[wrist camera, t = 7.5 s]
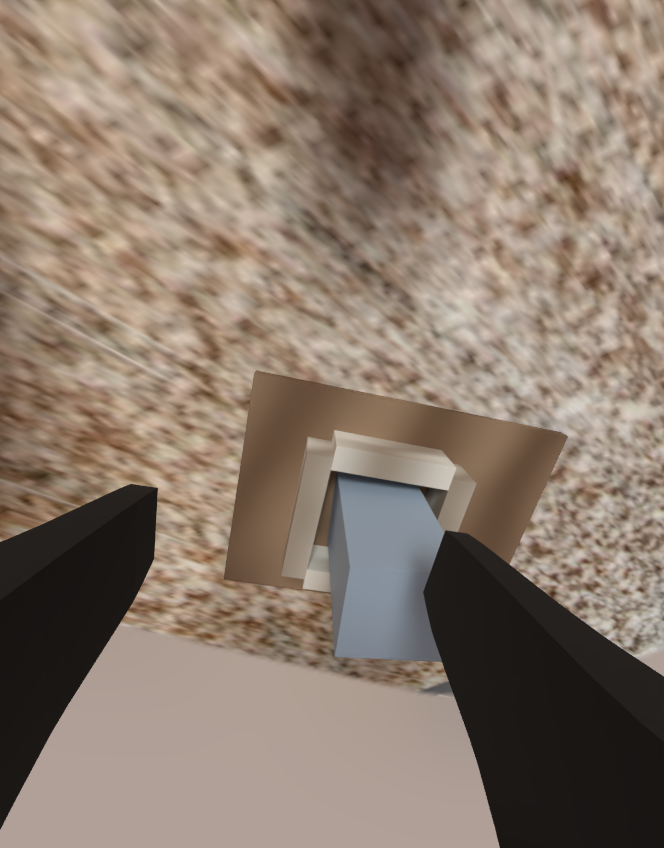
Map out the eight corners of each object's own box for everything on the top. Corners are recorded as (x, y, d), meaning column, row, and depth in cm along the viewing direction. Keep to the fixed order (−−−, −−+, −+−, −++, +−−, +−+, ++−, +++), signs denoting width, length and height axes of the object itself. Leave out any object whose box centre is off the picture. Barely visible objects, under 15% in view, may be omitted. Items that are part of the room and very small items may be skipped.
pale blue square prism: (413, 476, 18) (468, 575, 12) (399, 540, 20) (441, 661, 13) (336, 470, 18) (350, 567, 12) (327, 535, 19) (334, 657, 13)
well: (560, 432, 19) (597, 452, 16) (481, 606, 22) (502, 644, 20) (256, 370, 17) (246, 382, 14) (226, 571, 21) (214, 608, 18)
